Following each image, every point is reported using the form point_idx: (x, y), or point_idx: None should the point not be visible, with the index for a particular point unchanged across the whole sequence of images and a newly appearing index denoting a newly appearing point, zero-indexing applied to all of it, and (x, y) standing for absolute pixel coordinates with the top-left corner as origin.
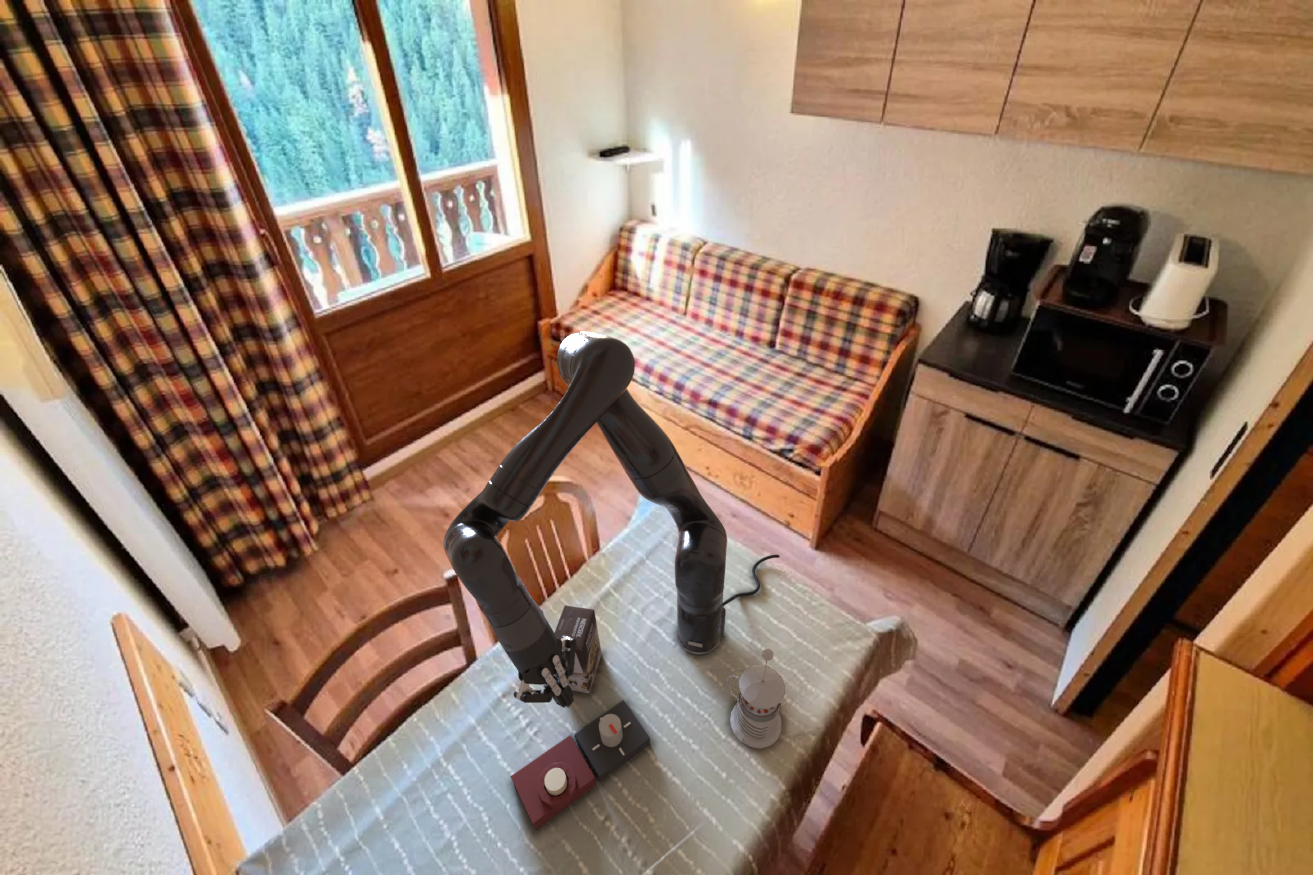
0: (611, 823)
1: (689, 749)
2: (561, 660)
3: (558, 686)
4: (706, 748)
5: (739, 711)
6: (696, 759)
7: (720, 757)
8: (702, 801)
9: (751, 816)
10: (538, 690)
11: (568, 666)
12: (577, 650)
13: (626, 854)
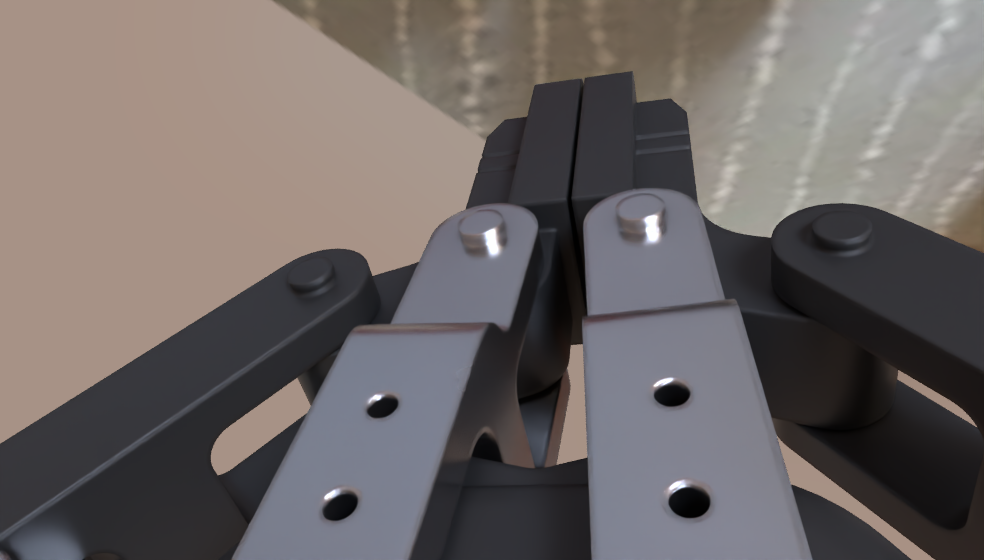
0: (477, 11)
1: (907, 39)
2: (940, 390)
3: (557, 431)
4: (942, 77)
5: None
6: (879, 75)
7: (929, 121)
8: (751, 153)
9: None
10: (293, 367)
11: (869, 508)
12: None
13: (458, 97)
